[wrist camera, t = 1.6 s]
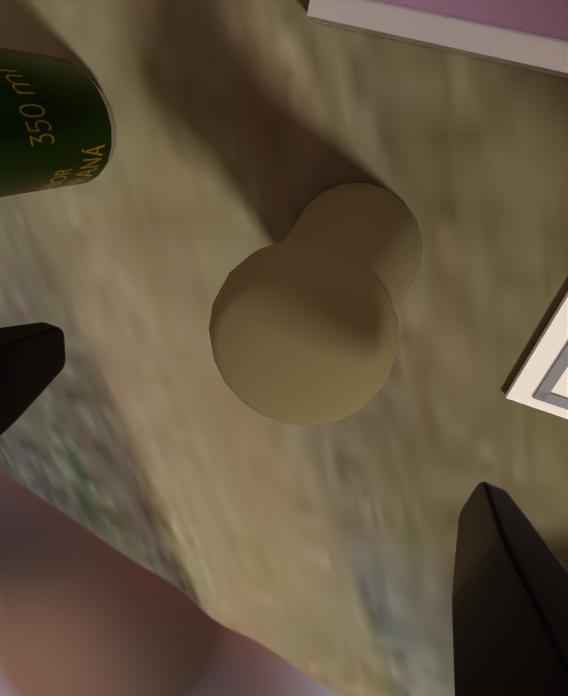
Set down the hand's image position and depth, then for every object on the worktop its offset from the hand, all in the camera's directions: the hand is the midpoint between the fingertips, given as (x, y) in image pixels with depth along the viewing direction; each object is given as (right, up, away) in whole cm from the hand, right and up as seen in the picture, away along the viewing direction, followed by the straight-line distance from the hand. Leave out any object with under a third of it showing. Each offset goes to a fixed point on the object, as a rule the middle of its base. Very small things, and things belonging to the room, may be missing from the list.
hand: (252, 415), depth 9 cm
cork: (+4, +6, +11) cm, 13 cm away
